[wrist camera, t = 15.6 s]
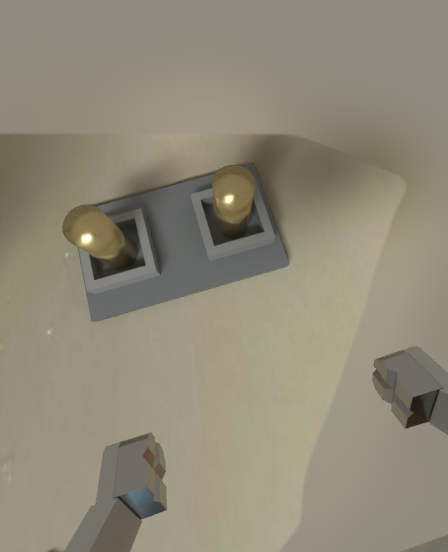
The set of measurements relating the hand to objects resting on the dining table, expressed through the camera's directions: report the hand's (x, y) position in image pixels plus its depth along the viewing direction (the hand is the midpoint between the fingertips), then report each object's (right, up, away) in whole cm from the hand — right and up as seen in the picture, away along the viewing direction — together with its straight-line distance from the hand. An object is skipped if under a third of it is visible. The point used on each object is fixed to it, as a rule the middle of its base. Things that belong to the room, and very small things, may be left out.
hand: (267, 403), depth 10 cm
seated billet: (-14, +7, +25) cm, 30 cm away
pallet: (-7, +9, +26) cm, 29 cm away
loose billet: (-1, +11, +25) cm, 28 cm away
